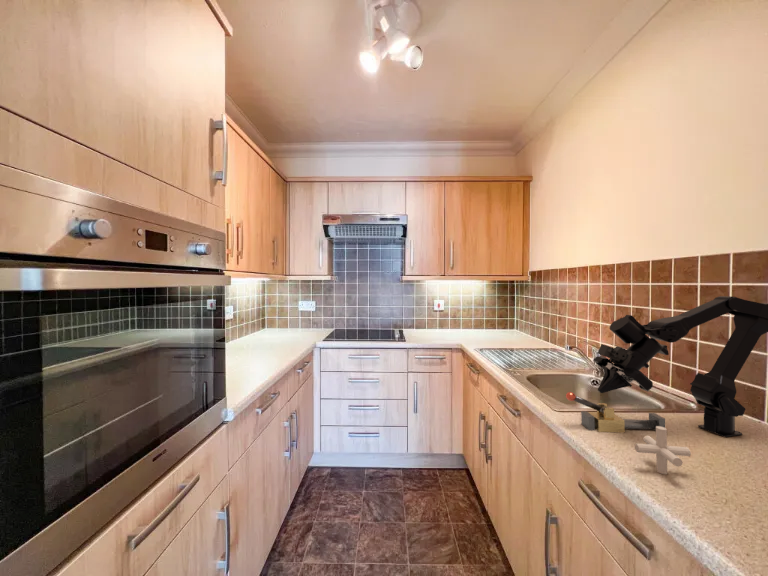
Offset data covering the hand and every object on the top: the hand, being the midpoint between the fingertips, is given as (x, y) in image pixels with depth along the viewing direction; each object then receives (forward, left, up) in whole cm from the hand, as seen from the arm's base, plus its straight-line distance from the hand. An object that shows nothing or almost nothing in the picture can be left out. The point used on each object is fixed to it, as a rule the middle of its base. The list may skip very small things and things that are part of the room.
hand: (599, 391), depth 92 cm
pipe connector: (+5, +22, -11) cm, 25 cm away
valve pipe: (-6, +2, -11) cm, 12 cm away
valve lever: (-3, +1, -6) cm, 7 cm away
